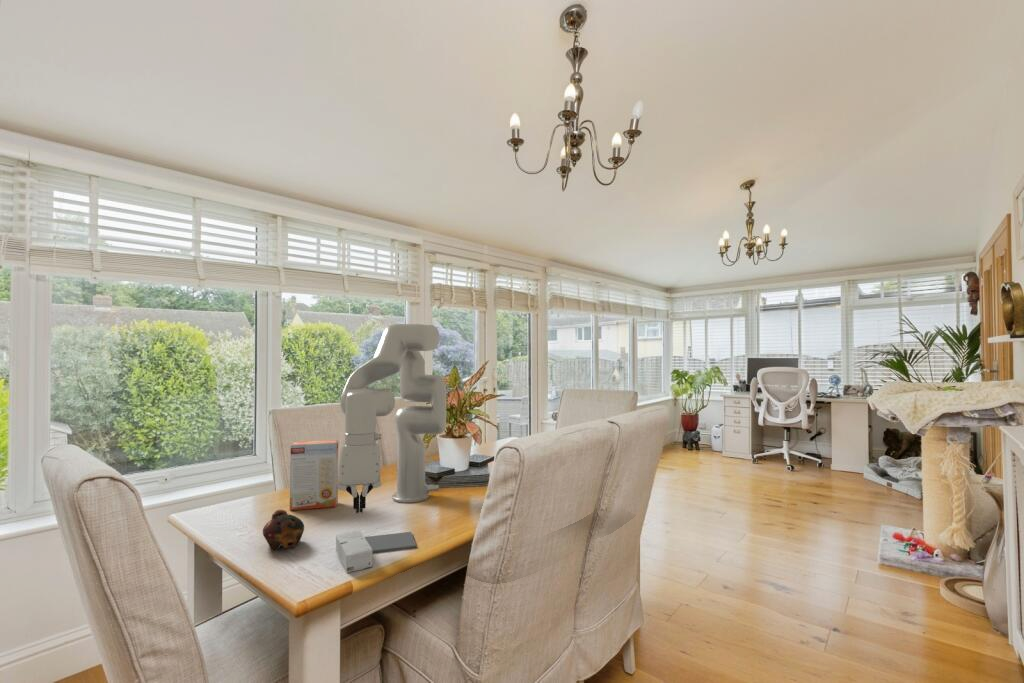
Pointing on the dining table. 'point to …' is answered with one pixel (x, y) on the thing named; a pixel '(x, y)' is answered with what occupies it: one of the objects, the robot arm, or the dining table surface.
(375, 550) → the slate mat
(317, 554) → the dining table surface
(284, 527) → the decorative turtle
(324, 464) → the cracker box
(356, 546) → the skincare box
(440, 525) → the dining table surface
